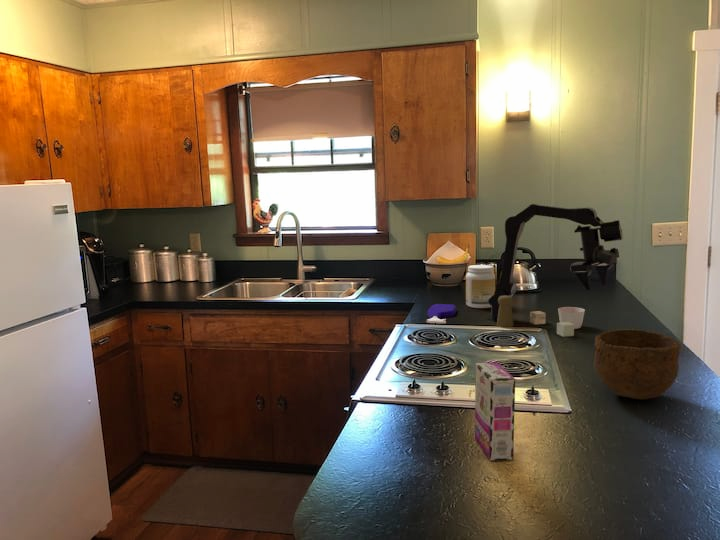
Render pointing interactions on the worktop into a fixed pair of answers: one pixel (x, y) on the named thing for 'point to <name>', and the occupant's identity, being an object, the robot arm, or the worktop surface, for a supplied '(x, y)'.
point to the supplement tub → (479, 286)
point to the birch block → (537, 317)
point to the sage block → (565, 329)
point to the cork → (505, 311)
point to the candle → (571, 315)
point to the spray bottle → (440, 313)
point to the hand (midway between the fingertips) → (596, 287)
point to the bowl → (636, 362)
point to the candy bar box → (494, 411)
